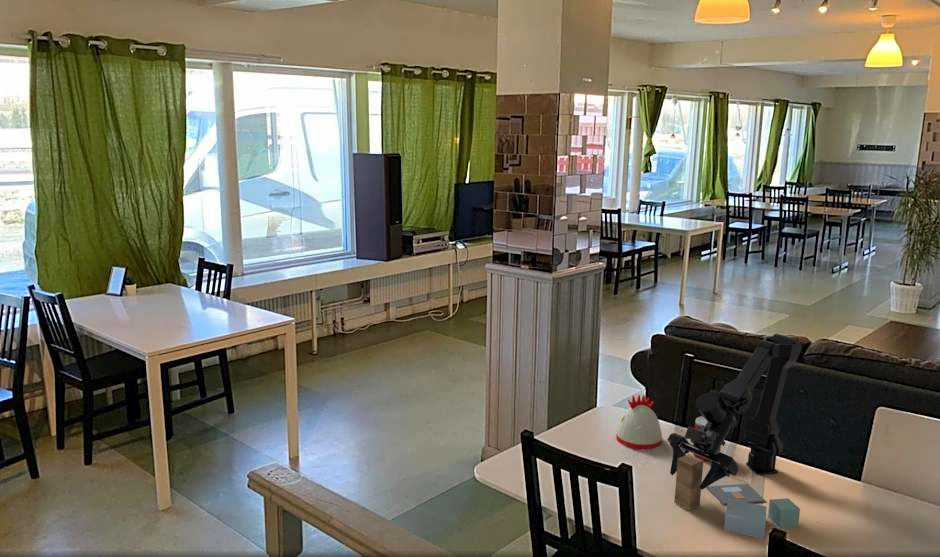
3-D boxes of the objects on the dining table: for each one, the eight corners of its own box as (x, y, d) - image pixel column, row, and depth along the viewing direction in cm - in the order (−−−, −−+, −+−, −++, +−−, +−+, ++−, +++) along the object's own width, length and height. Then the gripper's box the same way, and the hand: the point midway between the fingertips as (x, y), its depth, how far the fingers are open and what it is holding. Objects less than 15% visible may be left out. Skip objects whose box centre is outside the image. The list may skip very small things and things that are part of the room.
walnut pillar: (685, 498, 185) (688, 454, 183) (699, 505, 182) (703, 460, 179) (674, 503, 183) (677, 458, 180) (688, 510, 179) (692, 465, 176)
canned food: (721, 452, 212) (724, 418, 209) (718, 463, 205) (721, 428, 202) (694, 447, 215) (697, 414, 213) (690, 458, 208) (693, 423, 206)
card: (747, 485, 192) (747, 483, 192) (765, 502, 183) (765, 500, 183) (706, 487, 191) (706, 486, 190) (722, 504, 182) (722, 503, 182)
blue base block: (727, 513, 179) (728, 498, 178) (765, 521, 175) (766, 506, 174) (724, 531, 171) (725, 516, 170) (764, 539, 167) (765, 524, 166)
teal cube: (786, 516, 177) (788, 498, 176) (797, 527, 172) (800, 508, 171) (767, 517, 176) (769, 499, 175) (779, 528, 171) (781, 510, 170)
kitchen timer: (610, 431, 226) (613, 387, 223) (651, 430, 228) (654, 386, 225) (624, 450, 213) (627, 404, 210) (668, 448, 214) (671, 402, 211)
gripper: (674, 404, 187) (643, 452, 183) (736, 427, 172) (704, 481, 168) (690, 424, 193) (661, 472, 189) (751, 449, 178) (721, 502, 174)
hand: (685, 481), depth 180 cm, fingers open, 9 cm apart
